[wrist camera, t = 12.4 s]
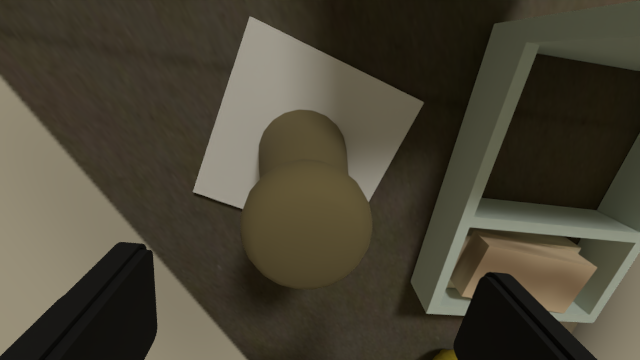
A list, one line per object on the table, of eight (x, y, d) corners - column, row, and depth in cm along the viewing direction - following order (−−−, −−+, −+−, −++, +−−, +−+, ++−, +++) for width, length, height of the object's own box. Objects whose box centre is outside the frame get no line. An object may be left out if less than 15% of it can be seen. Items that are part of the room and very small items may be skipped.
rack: (559, 291, 28) (731, 447, 17) (410, 281, 26) (493, 447, 15) (691, 59, 20) (1160, 65, 9) (494, 23, 19) (784, -23, 8)
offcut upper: (544, 295, 26) (564, 313, 24) (449, 278, 24) (461, 296, 22) (574, 251, 24) (597, 267, 22) (473, 230, 23) (489, 245, 21)
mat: (344, 241, 24) (344, 244, 24) (194, 189, 21) (192, 191, 21) (421, 101, 20) (424, 102, 20) (250, 17, 17) (250, 16, 17)
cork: (251, 184, 21) (209, 303, 11) (267, 99, 19) (232, 150, 9) (333, 200, 22) (364, 324, 12) (357, 121, 20) (419, 190, 10)
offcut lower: (534, 278, 28) (553, 296, 26) (434, 269, 27) (445, 287, 25) (559, 233, 26) (581, 248, 24) (452, 221, 25) (466, 235, 23)
